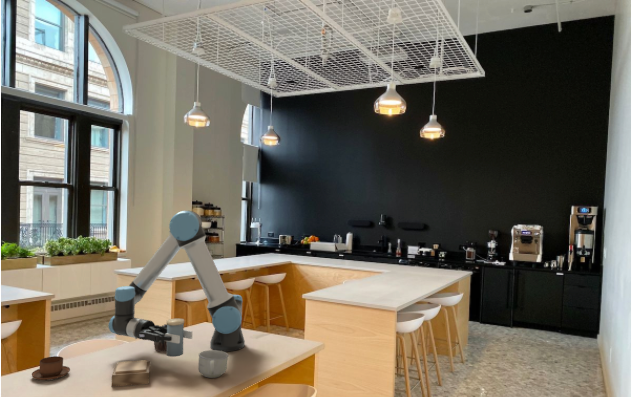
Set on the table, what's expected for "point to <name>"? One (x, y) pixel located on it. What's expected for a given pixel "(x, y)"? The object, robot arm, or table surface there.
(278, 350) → the table surface
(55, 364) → the cup and saucer
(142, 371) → the pedestal
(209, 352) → the teacup
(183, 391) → the table surface
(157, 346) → the cupcake
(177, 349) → the canister
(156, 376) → the table surface
